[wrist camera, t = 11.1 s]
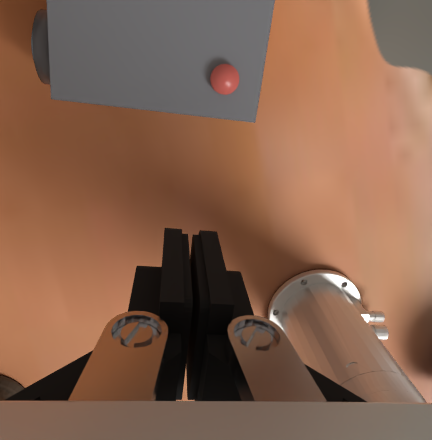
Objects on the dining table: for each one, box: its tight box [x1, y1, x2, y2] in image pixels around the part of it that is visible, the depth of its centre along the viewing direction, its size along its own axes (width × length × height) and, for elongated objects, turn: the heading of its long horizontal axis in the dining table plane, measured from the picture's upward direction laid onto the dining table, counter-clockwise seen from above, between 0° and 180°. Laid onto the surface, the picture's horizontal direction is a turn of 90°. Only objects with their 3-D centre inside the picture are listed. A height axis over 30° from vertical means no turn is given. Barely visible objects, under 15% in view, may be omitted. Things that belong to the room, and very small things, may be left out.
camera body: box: [31, 0, 275, 123], centre depth 31 cm, size 18×9×10 cm, turn 83°
